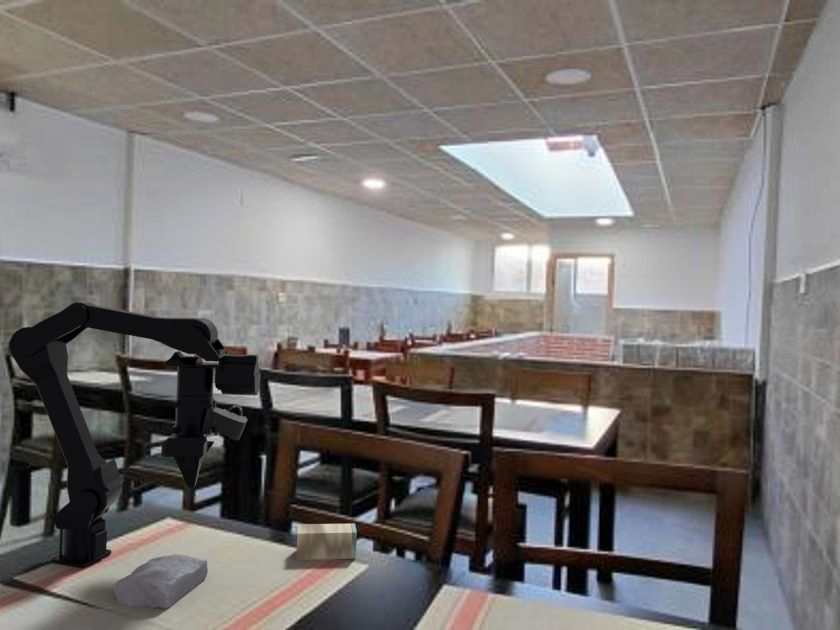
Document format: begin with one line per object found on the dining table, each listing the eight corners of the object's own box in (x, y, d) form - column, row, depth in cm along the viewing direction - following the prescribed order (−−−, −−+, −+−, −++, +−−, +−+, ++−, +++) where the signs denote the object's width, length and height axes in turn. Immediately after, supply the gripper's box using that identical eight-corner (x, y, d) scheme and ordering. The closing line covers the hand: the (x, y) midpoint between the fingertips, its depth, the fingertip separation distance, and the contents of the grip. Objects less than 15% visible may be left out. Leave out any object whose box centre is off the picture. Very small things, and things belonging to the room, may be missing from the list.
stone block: (107, 617, 91) (172, 611, 90) (103, 582, 92) (167, 576, 90) (156, 584, 103) (214, 579, 101) (152, 554, 103) (210, 548, 102)
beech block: (297, 533, 109) (356, 532, 111) (298, 524, 114) (354, 523, 115) (296, 559, 109) (355, 558, 111) (297, 549, 114) (353, 548, 115)
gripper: (238, 403, 99) (234, 504, 99) (250, 387, 118) (247, 472, 118) (162, 402, 97) (158, 505, 98) (186, 386, 116) (183, 472, 116)
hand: (191, 487), depth 107 cm, fingers closed
